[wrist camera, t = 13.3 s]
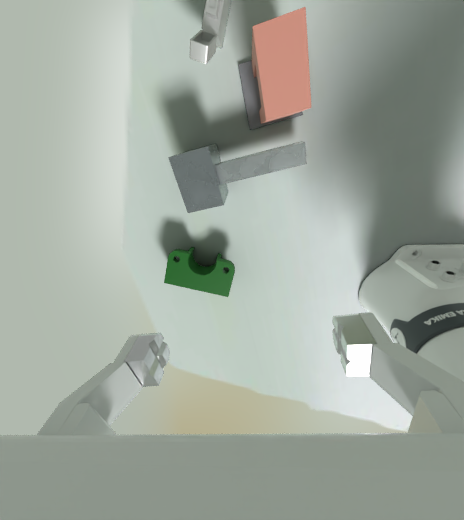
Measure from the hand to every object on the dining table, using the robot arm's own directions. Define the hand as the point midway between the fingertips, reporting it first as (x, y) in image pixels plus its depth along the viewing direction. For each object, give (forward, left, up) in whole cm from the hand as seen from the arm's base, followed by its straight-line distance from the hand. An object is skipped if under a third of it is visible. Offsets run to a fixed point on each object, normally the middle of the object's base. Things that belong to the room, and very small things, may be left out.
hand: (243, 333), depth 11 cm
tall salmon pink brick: (-6, -12, -28) cm, 31 cm away
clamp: (+11, +11, -29) cm, 32 cm away
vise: (0, -4, -28) cm, 28 cm away
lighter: (0, -18, -28) cm, 34 cm away
